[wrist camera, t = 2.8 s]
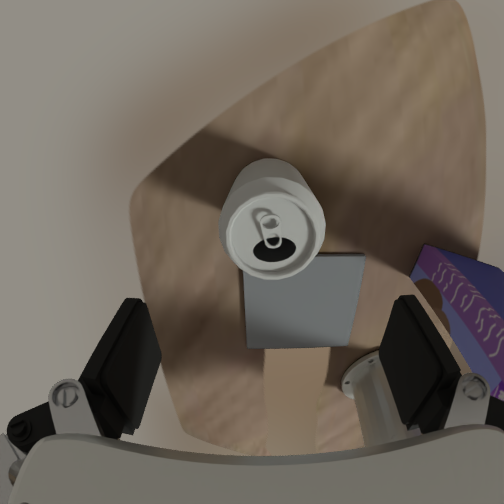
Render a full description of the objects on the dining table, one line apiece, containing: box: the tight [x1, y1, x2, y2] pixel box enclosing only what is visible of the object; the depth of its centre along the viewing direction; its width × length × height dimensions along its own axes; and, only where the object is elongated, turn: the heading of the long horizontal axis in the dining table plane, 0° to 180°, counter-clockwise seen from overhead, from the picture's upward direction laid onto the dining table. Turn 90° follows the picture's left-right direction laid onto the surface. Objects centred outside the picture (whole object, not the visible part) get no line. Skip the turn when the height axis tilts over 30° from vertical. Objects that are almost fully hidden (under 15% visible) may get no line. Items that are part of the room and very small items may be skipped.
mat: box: [243, 254, 366, 349], centre depth 35 cm, size 14×14×1 cm
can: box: [219, 158, 326, 280], centre depth 24 cm, size 8×8×12 cm
